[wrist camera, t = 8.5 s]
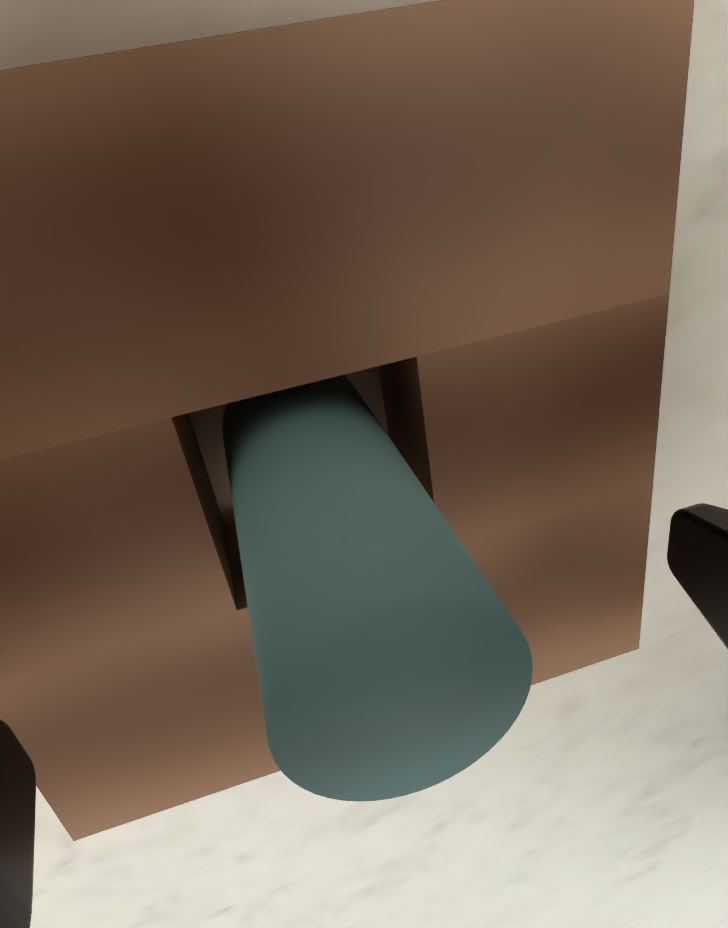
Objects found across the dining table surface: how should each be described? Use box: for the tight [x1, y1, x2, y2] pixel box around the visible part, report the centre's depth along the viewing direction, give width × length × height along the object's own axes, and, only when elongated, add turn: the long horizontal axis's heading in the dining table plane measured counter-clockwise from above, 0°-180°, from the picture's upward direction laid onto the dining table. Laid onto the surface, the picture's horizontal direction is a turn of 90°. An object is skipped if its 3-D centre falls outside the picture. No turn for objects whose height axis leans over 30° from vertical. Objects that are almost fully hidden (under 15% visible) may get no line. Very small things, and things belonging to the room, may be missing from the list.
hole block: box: [0, 0, 694, 841], centre depth 13 cm, size 14×14×4 cm
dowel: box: [222, 375, 533, 801], centre depth 11 cm, size 3×3×8 cm
